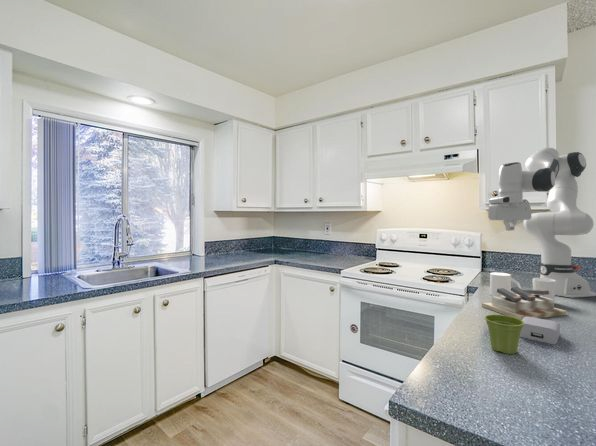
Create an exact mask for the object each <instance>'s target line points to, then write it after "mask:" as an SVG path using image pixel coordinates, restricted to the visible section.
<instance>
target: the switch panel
mask: <svg viewBox="0 0 596 446" xmlns="http://www.w3.org/2000/svg"><path fill="white" fill-rule="evenodd" d="M516 295H517V296H519V297H521V296H520V295H518V294H516ZM532 295H534V294H532ZM534 296H536V298H535V300H531V301H529V300H527V299H525V298H523V297H521V301H518V302H514V301H512V300H510V299H508V298H507V297H505V296H491V301H490V302H482V303H481V307H482V308H485V309H487V310H490V311H493V312H496V313H498V314H500V315H505V316H510V317H514V318H517V319H520V320H523V318H524V317H534V318H539V319H544V318H549V317H551V318H553V317H558V316H559V317H561V316H567V314H568V313H567V310H564V309H561V308H557V307H555V298H554V299H550V298H546V297H542V296H540V295H534Z"/></svg>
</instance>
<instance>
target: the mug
mask: <svg viewBox="0 0 596 446" xmlns="http://www.w3.org/2000/svg"><path fill="white" fill-rule="evenodd" d="M512 283H514V284H515V285H516V287H518V288H520V289H522V287H521V284H520V283H519V282H518V281H517V280H516V279H515V278H513V277H512V275H511V274H510V273H506V272H495V271H494V272H490V273H489V295H490V296H491V297H494V296H503V295H501V294H499V293H498V292H497V289H500V288H504V289H506V290H508V291H509V292H511V293H513V294H515V295H516V293H514V292H512V291H511V287H512Z"/></svg>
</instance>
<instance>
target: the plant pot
mask: <svg viewBox="0 0 596 446" xmlns="http://www.w3.org/2000/svg"><path fill="white" fill-rule="evenodd" d="M484 319H485V321H486V325H487V327H488V334H489V341H490V347H491V349H492V350H494V351H496V352H501V353H503V354H508V355H512V354H513V355H514V354H517V352H518V349H519V342H520V338H521V337H520V332H521V330H522V327H523V325H524V321H522V320H520V319H517V318H514V317H510V316H507V315H504V314H487V315H485V316H484Z"/></svg>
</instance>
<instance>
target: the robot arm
mask: <svg viewBox="0 0 596 446" xmlns="http://www.w3.org/2000/svg"><path fill="white" fill-rule="evenodd" d="M524 165H525V169H526V170H523V167H522V163H521V162H519V161H518V162H517V161H516V162H510V163H508V162H507V163H503V164H502V165H500V168H499V171H498V186H499V189H498V195H496V196H493V197H491V198H489V199H488V203H489V205H488V212H487V213H488V217H487V218H488V219H489V221H503V225H504V226H505V231H508V232H509V231H515V228H516V225H517V223H518V221H523V222H522V223H523V228H524V229H525V231H526V232H527V233H529V234H530V235H531V236H533V237H534V238H535V240H536V241H537V242H538V244H539V247H540V255H541V256H540V257H541V260H540V261H541V262H539V263H540V264H539V271H540V275H539V278H548V279H553V280H556V288H555V296H560V297H566V298H586V297H596V292H595V291H591V287H590V282H589V281H588V280H587V279H586V278H584V277H582V276H581V275H580V274H578V273H576V271H580V270H581V266H580V265H573V264H572V249H571V247H570V246H569V245H567V244H566V243H563V242H561V241H559V240H558V239H556V236H582V235H583V236H584V235H587V234H589V233H590V232H591V231H592V229H594V225H595V224H594V223H595V222H594V220H593V218H592V216H590V215H589V214H588V213H586V212H584V211H582V210H580V209H579V208H578V207H577V200H578V199H577V198H578V194H579V193H578V191H579V189H578V182H577V180H576V178H578V177H579V178H580V176H581V175H582V173H583V172H584V171H585V169H586V167H587V159H586V157H585V156H584V154H583V153H581V152H579V151H575V152H569V153H567V154H562V155H560V154H559V151H558V150H557V149H555V148H553V147H544V148H541V149H538V150H537V151H535V152H534V153H532V154H531V155H530V156H529V157H528V158H527V159H526V161H525V164H524ZM531 192H532V193H533V192H538V193H539V192H544V193H546V192H548V195H547V200H546V206H547V207H546V208H547V209H548V211H549V210H550V211H549V212H548V211H546V212H545V211H544V212H533V213H532V208H531V204H530V201H528V200H527V199H526V198H525V199H523V198H524V197H523V193H531Z"/></svg>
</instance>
